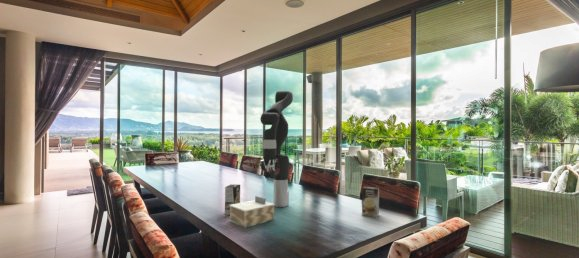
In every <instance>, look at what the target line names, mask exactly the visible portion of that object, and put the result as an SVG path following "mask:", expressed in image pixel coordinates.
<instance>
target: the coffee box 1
mask: <svg viewBox="0 0 579 258" xmlns="http://www.w3.org/2000/svg"><path fill="white" fill-rule="evenodd" d="M237 203H241V184H229V185H227V186H225V187H224V215H230V206H229V205H232V204H237Z"/></svg>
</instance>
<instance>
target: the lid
mask: <svg viewBox="0 0 579 258" xmlns="http://www.w3.org/2000/svg"><path fill="white" fill-rule="evenodd" d="M254 198H255V199H252V200H247V201H241V202H240V203H237V204H232V205H229V206H231V207H233V208H236V209H239V210H242V211H245V212H246V211H251V210H255V209H259V208H264V207H268V206H272V205H275V204H273V202H269V201H266V198H265V197H262V196H258V195H255V196H254Z"/></svg>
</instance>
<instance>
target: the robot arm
mask: <svg viewBox="0 0 579 258" xmlns="http://www.w3.org/2000/svg"><path fill="white" fill-rule="evenodd" d="M293 97H294V96H293V92H292V91H290V90H277V91H276V93H275V96H274V99H275V100H274V101H275V103H273V104H272V106H270V108H268V109H267V110H265V111H264V112H263V113H262V114H261V115H260V118H259V119H260V123H261V124H262V125H264V126H270V128H267V129H264V130H263V142H262V156H263V158H262V159H261V160H259V161H258V162H259V166H260V169H261V171H263V172H264V179H265V178H266V179H269V173H270V178H273V200H272V201H273V202H272V203H273V204H275V205H274V208H285V207H287V206H289V203H290V198H289V197H290V194H289V193H290V191H289V189H288V187H289V185H288V184H289V174H290V158H289V156H288V155H286V154H281V151H282V147H283V144H284V143H285V141H286V139H287V138H288V135H289V122H288V121H287V119H286V117H285V115H284V113H283V111H284V110H285V109H287V108H288V107H289V106H290V105H291V104H292V102H293V100H294V98H293ZM269 169H270V172H269ZM278 169H279V171H278V172H277V173H275V170H278Z"/></svg>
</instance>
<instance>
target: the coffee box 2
mask: <svg viewBox="0 0 579 258" xmlns="http://www.w3.org/2000/svg"><path fill="white" fill-rule="evenodd" d="M361 189H362V190H361V191H362V193H361V194H362V195H361V197H362V198H361V199H362V200H361V216H366V217H373V218H378V217H379V213H380V211H379V210H380V187H377V186H376V187H375V186H368V185H367V186H365V185H364V186H362V188H361Z"/></svg>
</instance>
